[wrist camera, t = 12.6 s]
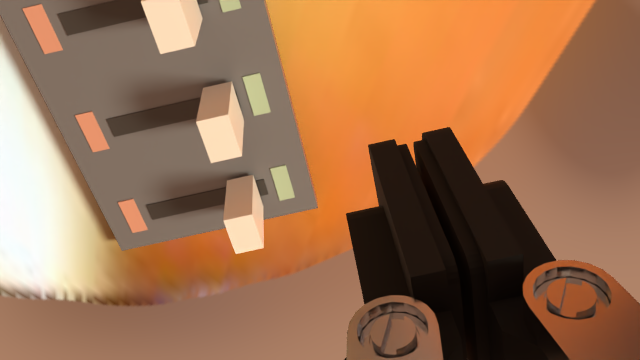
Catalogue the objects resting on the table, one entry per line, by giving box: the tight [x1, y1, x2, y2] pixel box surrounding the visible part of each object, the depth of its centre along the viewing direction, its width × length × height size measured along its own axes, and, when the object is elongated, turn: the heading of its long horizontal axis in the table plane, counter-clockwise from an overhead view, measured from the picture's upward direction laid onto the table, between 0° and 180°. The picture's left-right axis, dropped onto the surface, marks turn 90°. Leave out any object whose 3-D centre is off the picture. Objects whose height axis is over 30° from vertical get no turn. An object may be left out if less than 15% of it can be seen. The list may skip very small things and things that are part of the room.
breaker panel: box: [0, 0, 318, 251], centre depth 41 cm, size 21×16×2 cm
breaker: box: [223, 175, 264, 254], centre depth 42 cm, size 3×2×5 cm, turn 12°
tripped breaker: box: [196, 81, 244, 163], centre depth 38 cm, size 3×2×5 cm, turn 12°
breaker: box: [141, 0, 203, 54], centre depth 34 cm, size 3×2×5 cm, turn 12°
